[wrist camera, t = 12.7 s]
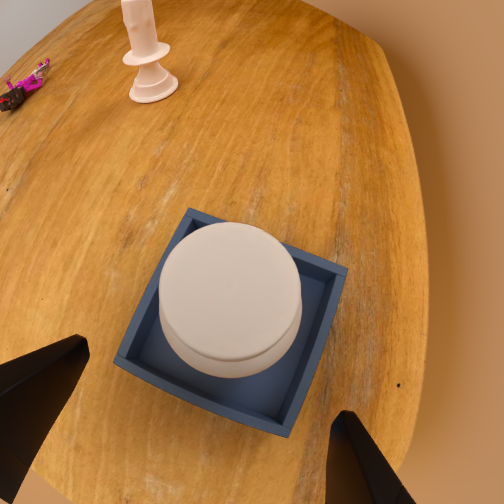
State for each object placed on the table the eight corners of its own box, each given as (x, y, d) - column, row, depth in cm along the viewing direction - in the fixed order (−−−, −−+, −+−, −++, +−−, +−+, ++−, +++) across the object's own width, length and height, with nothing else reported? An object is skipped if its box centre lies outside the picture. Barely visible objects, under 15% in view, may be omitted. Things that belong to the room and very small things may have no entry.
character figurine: (37, 76, 29) (-3, 120, 24) (29, 53, 25) (-16, 94, 19) (62, 69, 30) (21, 113, 24) (55, 43, 25) (9, 83, 20)
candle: (188, 81, 26) (179, -19, 15) (154, 109, 24) (130, 0, 13) (153, 71, 26) (137, -17, 15) (120, 97, 25) (92, 3, 13)
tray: (280, 427, 15) (288, 438, 13) (129, 363, 16) (112, 362, 13) (334, 280, 19) (348, 268, 16) (194, 226, 20) (188, 206, 17)
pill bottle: (238, 389, 15) (241, 426, 6) (169, 330, 16) (97, 293, 7) (294, 320, 17) (359, 272, 8) (227, 266, 18) (220, 170, 9)
